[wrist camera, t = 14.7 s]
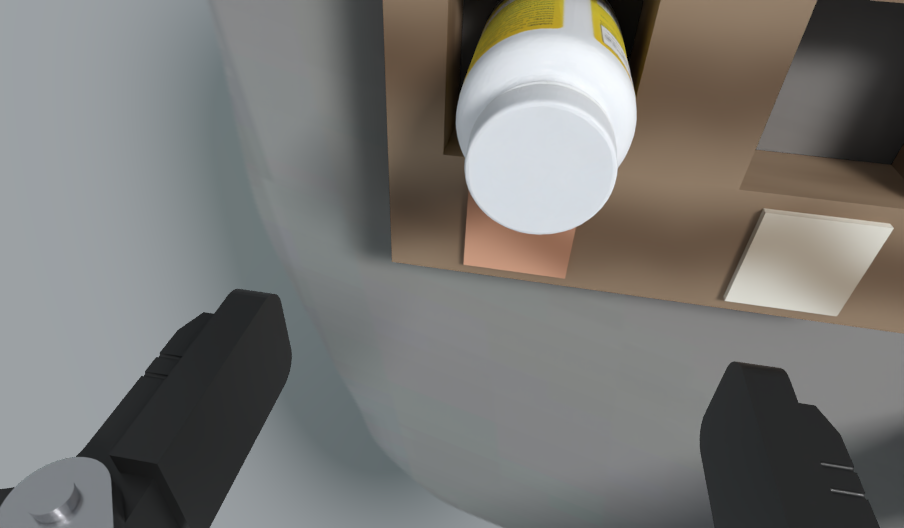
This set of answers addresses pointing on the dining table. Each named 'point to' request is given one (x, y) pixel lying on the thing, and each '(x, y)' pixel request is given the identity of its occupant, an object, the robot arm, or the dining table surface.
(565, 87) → the supplement bottle
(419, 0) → the socket board
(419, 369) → the dining table surface
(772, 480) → the robot arm
